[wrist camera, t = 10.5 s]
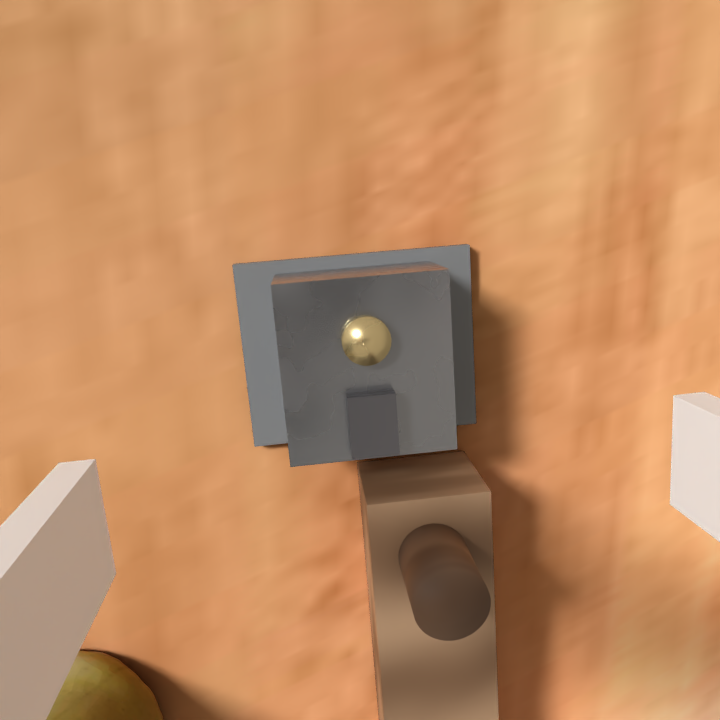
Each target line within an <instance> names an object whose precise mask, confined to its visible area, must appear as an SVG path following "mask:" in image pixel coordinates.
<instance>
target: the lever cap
mask: <svg viewBox="0 0 720 720" xmlns="http://www.w3.org/2000/svg"><path fill="white" fill-rule="evenodd" d="M271 293H272V302H273V312H274V321H275V330H276V339H277V348H278V357H279V366H280V375H281V385H282V394H283V403H284V412H285V421H286V430H287V439H288V448H289V457H290V467H295V466H304V465H314V464H323V463H333V462H342V461H351V460H361V459H370V458H379V457H389V456H398V455H407V454H417V453H426V452H436V451H445V450H454V449H457V428H456V407H455V385H454V363H453V341H452V319H451V297H450V275H449V269H448V268H445V267H443V266H440V265H438V264H435V263H433V262H430V261H420V262H408V263H396V264H385V265H373V266H362V267H350V268H339V269H327V270H315V271H304V272H292V273H281V274H275V275H274V277H273V280H272V282H271Z"/></svg>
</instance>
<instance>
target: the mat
mask: <svg viewBox="0 0 720 720" xmlns="http://www.w3.org/2000/svg"><path fill="white" fill-rule="evenodd" d="M420 261H430V262H433V263H435V264H438V265H440V266H443V267H445V268H448V269H449V275H450V297H451V319H452V341H453V363H454V385H455V407H456V426H457V425H466V424H476V399H475V373H474V347H473V321H472V295H471V268H470V245H468V244H462V245H450V246H439V247H427V248H415V249H403V250H392V251H380V252H368V253H356V254H345V255H333V256H321V257H309V258H298V259H286V260H274V261H262V262H251V263H239V264H233V274H234V282H235V290H236V298H237V306H238V314H239V323H240V331H241V339H242V347H243V355H244V363H245V372H246V380H247V388H248V396H249V404H250V413H251V421H252V429H253V437H254V445H255V447H256V446H265V445H275V444H284V443H288V439H287V430H286V421H285V412H284V403H283V394H282V385H281V375H280V366H279V357H278V348H277V339H276V330H275V321H274V312H273V302H272V293H271V282H272V280H273V277H274V275H275V274H281V273H292V272H304V271H315V270H327V269H339V268H350V267H362V266H373V265H385V264H396V263H408V262H420Z"/></svg>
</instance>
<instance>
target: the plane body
mask: <svg viewBox="0 0 720 720" xmlns="http://www.w3.org/2000/svg"><path fill="white" fill-rule="evenodd" d="M357 465H358V477H359V489H360V501H361V513H362V525H363V537H364V549H365V560H366V572H367V584H368V596H369V608H370V620H371V632H372V644H373V656H374V667H375V679H376V691H377V703H378V715H379V720H499V713H498V683H497V653H496V623H495V594H494V564H493V534H492V504H491V491H490V489H489V488H488V486H487V485H486V483H485V482H484V480H483V479H482V477H481V476H480V474H479V473H478V471H477V470H476V468H475V467H474V465H473V464H472V462H471V461H470V459H469V458H468V457H467V455H466V454H465V452H464V451H458V452H449V453H440V454H430V455H421V456H412V457H402V458H393V459H384V460H374V461H365V462H357Z"/></svg>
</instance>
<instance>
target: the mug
mask: <svg viewBox="0 0 720 720" xmlns="http://www.w3.org/2000/svg"><path fill="white" fill-rule="evenodd" d="M46 720H164V719H163V716H162V714H161V712H160V709H159V706H158V703H157V701H156V698H155V696H154V694H153V692H152V691H151V689H150V688H149V687H148V686H147V685H145V684H144V683H143V682H142V680H141V679H140V678H139V677H138V675H137V674H135V673H134V672H133V671H132V670H131V669H130V668H128V667H127V666H126V665H125V664H123V663H122V662H121V661H120V660H119V659H117V658H115V657H112V656H110V655H108V654H105V653H102V652H89V651H79V652H78V654H77V656H76V658H75V661H74V663H73V665H72V667H71V669H70V671H69V673H68V675H67V677H66V679H65V681H64V683H63V686H62V688H61V690H60V692H59V694H58V696H57V698H56V700H55V702H54V704H53V706H52V708H51V711H50V713H49V715H48V717H47V719H46Z"/></svg>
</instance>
